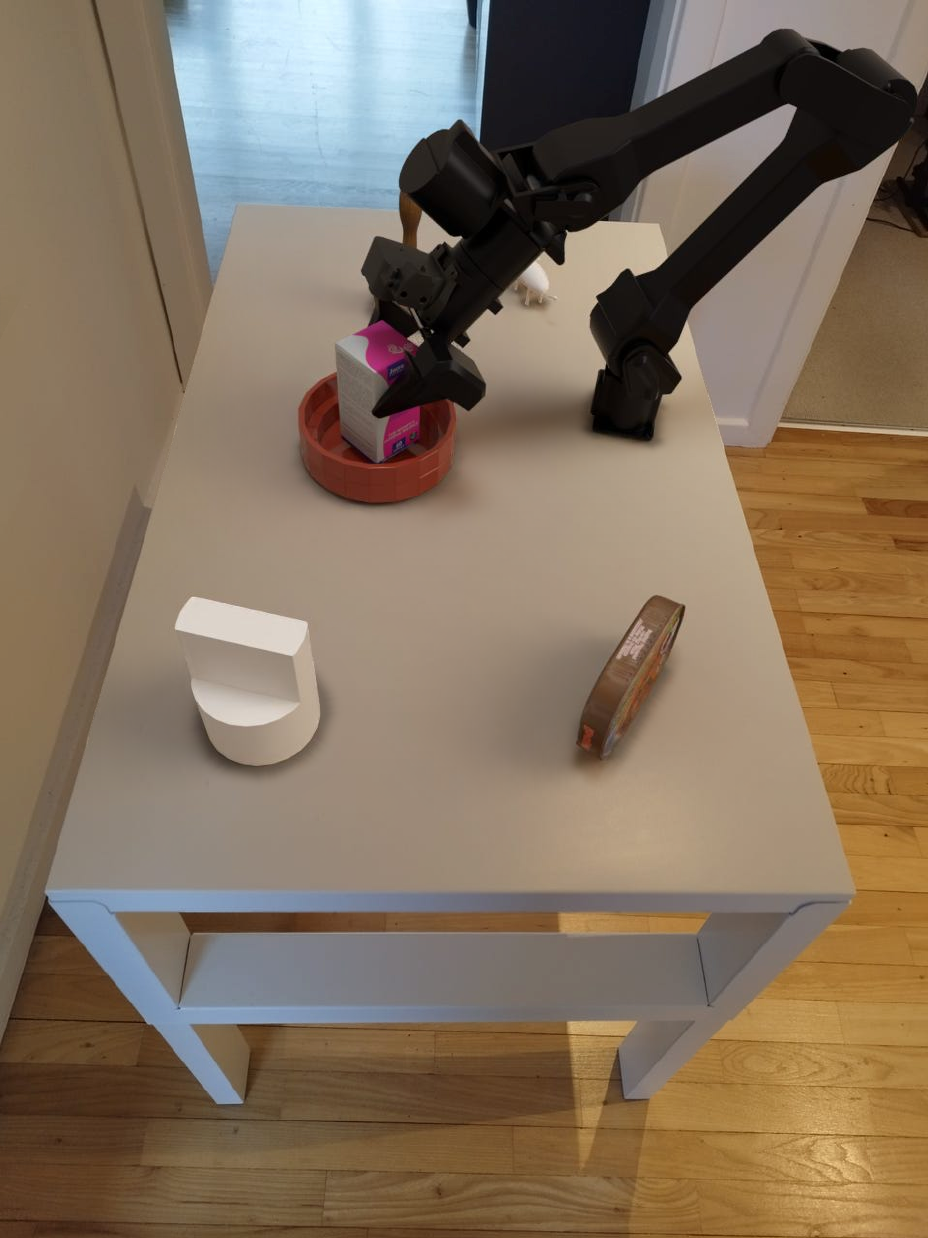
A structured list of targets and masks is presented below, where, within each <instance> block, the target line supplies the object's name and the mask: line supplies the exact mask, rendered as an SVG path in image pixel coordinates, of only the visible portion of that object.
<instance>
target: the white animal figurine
mask: <svg viewBox="0 0 928 1238" xmlns="http://www.w3.org/2000/svg"><path fill="white" fill-rule="evenodd" d="M539 261H541V256H539V257H538V258H537V259H536V260H535V261H534V262H533V263H532V264H531V265H530V266H529V267H528V268H527V269H526V270H525V271H524V272H523V273H522V274H521V275H520V276H519V277H518V279H517V280H516V281H515V282H514V287H513V290H514V291H518V287H519V280H520V282H521V283H522V284H523V285H524V287H526V289H527V290H526V297H525V301H524V304H525V306H529V305H530V304H529V303H530V297H531V292H532V293H535V294H537V295H538V299H537V302H538V304H542V302H543V296H546V297H548V298H551V299H552V300H553V301H557V300H558V297H557V296H556V295H555V296H554V295H550V294H548V293H547V292H548V291H549V289H550V281H549V277H548V275H547V273H546V272H545V270H544V268H543V267H542V266H541V265H540V264H539V263H538V262H539Z"/></svg>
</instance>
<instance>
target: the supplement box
mask: <svg viewBox="0 0 928 1238" xmlns="http://www.w3.org/2000/svg"><path fill="white" fill-rule="evenodd" d="M418 347H419V345H417V344H415V343H414V342H413V341H412V340H410V339H409V338H405V337H404V336H403V335H401V334H400V333H399V332H397V331H396V330H395V329H393V328H392V327H391V326H389V325H388V324H387V323H386V322H384V321H383V320H381V321H379V322H377V323H375V324H373V325H371V326H369V327H367V326H366V327H365V328H363V329H361V330H359V331H356V332H355V333H352V334H351V335H348V336H346V337H345V338H342V339H340V340H338V341H336V342H334V351H335V366H336V372H337V382H338V397H339V413H340V427H341V438H342V439H343V440H344V441H345V442H346V443H347V444H349V445H350V446H351V447H352V448H354V449H355V450H356V451H357V452H359V453H360V454H361V455H362V456H363V457H364V458H366V459H367V460H368V461H369V462H370V463H372V464H382V463H383V462H385V461H386V460H388V459H389V458H391V457H393V456H395V455H396V454H398V453H400V452H401V451H403V450H405V449H407V448H409V447H410V446H413V445H415V444H416V443H418V442H419V417H420V406H418V407H414V408H411V409H408V410H405V411H402V412H399V413H396V414H393V415H390V416H387V417H384V418H381V419H378V418H377V417H375V416H373V415H372V412H371V411H372V409H373V408H374V406H375V405H376V403H377V402H378V401H379V399H380V398H381V397H382V396H383V394H384V393H385V392H386V391H387V390H388V388H389V387H390V386H391V385H392V384H393V382H394V381H395V380H396V379H397V377H398V376H399V375H400V374H401V373H402V371H403V370H404V352H405V350H407V351H408V352H410V353H411V354H412V355H414V356H415V355H416V352H417V349H418Z"/></svg>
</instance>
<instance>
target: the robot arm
mask: <svg viewBox="0 0 928 1238" xmlns="http://www.w3.org/2000/svg"><path fill="white" fill-rule="evenodd" d="M918 96H919V95H918V91H917V89H916V86H915V85H914V83H912V82H911V81H910V80H908V79H907V77H905V76H904V75H903V74H902V73H900V71H898V70H897V69H896V68H894V66H893V65H891V64H890V63H888V62H887V61H886V60H885V59H884V58H883V57H882V56H880V55H879V54H878V53H877V52H876V51H874V50H873V49H872V48H867V47H858V48H853V49H851V48H847V49H845V50H841V49H838V48H837V47H834V46H832V45H831V44H828V43H826V42H824V41H821V40H817V39H813V38H810V37H809V38H808V37H805V36H803V35H801V34H800V33H799V32H798V31H797V30H795V29H794V28H778V29H775V30H772V31H771V32H770V33H768V34H767V35H766V36H764V37H763V38H762V39H761V41H760V42H759V43H758V44H756V45H754V46H752V47H750V48H748V49H746V50H744V51H743V52H741V53H739V54H736V55H735V56H733V57H732V58H729V59H727V60H726V61H724V62H721V63H720V64H718V65H716V66H715V67H713V68H711V69H709V70H707V71H705V72H702V73H701V74H699V75H697V76H695V77H694V78H691V79H689V80H687V81H686V82H684V83H683V84H680V85H679V86H676V87H675V88H673V89H671V90H669V91H668V92H666V93H663V94H662V95H660V96H658V97H656V98H654V99H652V100H650V101H648V102H646V103H645V104H642V105H641V106H639V107H638V108H635V109H632V110H631V111H629V112H625V113H623V114H620V115H617V116H610V117H608V116H607V117H591V118H590V117H589V118H585V119H582V120H579V121H576V122H573V123H570V124H567V125H564V126H561V127H558V128H555V129H552V130H549V131H548V132H547V133H545V134H544V135H542V136H541V137H540V138H539V139H537V140H536V141H532V142H527V143H522V144H518V145H517V144H516V145H513V146H508V147H504V148H503V147H502V148H497V149H495V150H494V149H493V150H491V151H488V150H487V149H486V147H484V146H483V144H482V143H481V142H480V141H479V140H478V139H477V138H476V136H475V134H474V132H473V130H472V128H470V126H469V125H467V123H465V121H464V120H463V119H461V118H460V119H457V120H456V121H455V122H454V123H453V124H452V125H451V126H450V127H449V128H442V129H437V130H436V131H434V132H432V133H431V134H429V135H428V136H427V137H422V138H421V139H420V140H419V141H418V142H417V143H416V144H415V146H414V147H413V148H412V149H411V151H410V153H409V154H408V155H407V157H406V159H405V161H404V163H403V164H402V167H401V170H400V172H399V177H398V188H399V190H400V191H402V192H403V193H404V194H405V195H406V196H407V197H408V198H409V199H411V200H412V201H413V202H414V203H415V204H416V205H417V206H418V207H419V208H420V209H421V210H422V212H423V213H425V215H427V216H428V217H429V218H430V219H431V220H432V221H433V222H434V223H435V224H437V226H438V227H440V229H442V230H443V231H444V232H445V233H446V234H447V235H448V236H449V237H453V238H459V237H461V238H460V240H458V241H457V243H455V245H454V246H453V247H452V246H451V245H450V244H449V243H448V242H446V241H443V242H442V243H438V244H437V245H436V246H435V247H434V248H433V249H432V250H431V251H430V252H429V253H428V252H425V251H423V250H421V249H418V247H417V248H415V247H412V246H409V245H406V244H403V242H400V241H397V240H393V239H391V238H387V237H384V236H380V235H376V236H374V237H373V240H372V242H371V245H370V247H369V249H368V252H367V254H366V257H365V259H364V262H363V264H362V265H361V266H362V267H361V268H360V273H361V275H362V276H364V278H365V280H366V282H367V284H368V287H367V288H368V291H369V292H370V294H371V295H372V296H373V301H374V302H375V308H374V309H373V311H372V313H371V316H370V319H369V322H368V323H367V326H366V328H367V327H369V326H371V325H373V324H375V323H377V322H379V321H381V320H383V321H384V322H386V323H387V324H388V325H389V326H391V327H392V328H393V329H395V330H396V331H397V332H399V333H400V334H401V335H403V336H404V337H405V338H407V339H409V338H410V337H412V336H413V335H415V334H416V333H418V332H419V333H420V335H421V338H422V339H423V341H422V342H421V344H419V345H418V349H417V352H416V355H415V356H414V355H412V354H411V353H410V352H408V351H407V350H405V352H404V370H403V371H402V373H401V374H400V375H399V376H398V377H397V379H396V380H395V381H394V382H393V384H392V385H391V386H390V387H389V388H388V390H387V391H386V392H385V393H384V394H383V396H382V397H381V398H380V399H379V401H378V402H377V403H376V405H375V406H374V408H373V409H372V411H371V412H372V415H373V416H375V417H377V418H378V419H381V418H384V417H387V416H390V415H393V414H396V413H399V412H402V411H405V410H408V409H411V408H414V407H418V406H421V405H424V404H428V403H433V402H437V401H441V400H446V399H449V400H450V401H451V402H453V403H454V404H457V405H458V406H459V407H461V408H462V409H464V410H465V411H467V412H469V413H470V411H472V410H473V409H474V408H475V407H476V406H477V405H478V404H479V403H480V402H481V401H482V400H483V399H484V398H486V394H487V393H486V391H487V383H486V381H485V379H484V377H483V376H482V374H481V371H480V370H479V368H478V366H477V364H476V362H475V360H474V359H473V358H471V357H470V356H469V355H467V354H466V353H464V352H463V351H462V350H461V349H459V348H458V347H456V346H455V345H454V344H453V343H455V344H457V346H459V347H461V348H462V349H464V348H466V346H467V345H468V344H469V343H470V342H471V338H470V336H469V334H468V332H467V331H468V330H469V329H470V328H471V327H472V326H473V325H474V324H475V323H476V322H477V321H478V320H479V319H480V318H481V317H482V316H483V314H484V313H486V312H487V311H489V312H490V313H492V314H493V316H497V315H498V314H499V313H500V312H501V310H503V309H504V305H503V304H502V302H501V300H500V299H499V298H500V297H501V296H502V295H503V294H504V293H505V292H506V291H507V290H508V289H509V288H510V287H511V286H512V285H514V284H515V281H516V280H517V279H518V277H519V276H520V275H521V274H522V273H523V272H524V271H525V270H526V269H527V268H528V267H529V266H530V265H531V264H532V263H533V262H534V261H535V260H536V259H537V258H539V257H541V255H542V254H543V253H545V254H546V255H547V256H548V257H549V258H550V259H551V260H552V261H553V262H554V263H555V264H556V265H557V266H563V265H564V264H565V261H566V239H567V237H568V233H569V234H570V233H578V232H582V231H584V230H588V229H589V228H591V227H592V226H594V225H595V224H597V223H598V222H600V221H601V220H603V219H604V218H605V217H607V216H608V215H610V214H611V213H613V212H614V211H616V210H617V209H618V208H620V207H621V206H622V205H623V204H625V203H626V201H627V200H628V199H629V198H630V196H632V193H634V191H635V189H636V188H637V187H638V185H640V183H641V182H642V181H644V180H645V179H646V178H648V177H649V176H651V175H652V174H653V173H655V172H657V171H658V170H661V169H662V168H665V167H667V166H669V165H671V164H673V163H674V162H676V161H678V160H680V159H682V158H684V157H686V156H689V155H690V154H692V153H693V152H694V153H695V151H696V152H697V151H698V150H700V149H702V148H704V147H706V146H708V145H709V144H712V143H713V142H715V141H718V140H719V139H721V138H723V137H726V136H728V135H729V134H731V133H733V132H735V131H737V130H739V129H740V128H742V127H744V126H746V125H749V124H750V123H753V122H754V121H756V120H758V119H760V118H762V117H764V116H767V115H768V114H770V113H772V112H774V111H776V110H778V109H780V108H781V107H784V106H786V105H790V106H792V107H795V108H796V109H795V111H794V114H793V116H792V118H791V121H790V124H789V126H788V128H787V130H786V133H785V135H784V138H783V139H782V141H781V142H780V143H779V144H778V145H777V146H776V148H774V149H773V151H771V152H770V154H769V155H768V156H766V157H765V159H764V160H762V161H761V163H760V164H758V165H757V167H756V168H755V169H754V170H753V171H751V172H750V174H749V175H748V176H747V177H746V178H744V179H743V181H742V182H741V183H740V184H739V185H738V186H737V187H736V188H735V189H734V190H733V191H732V192H731V193H729V195H728V196H727V197H726V198H725V199H724V200H723V201H722V202H721V203H720V204H719V205H718V206H717V207H716V208H715V209H714V210H713V211H712V212H711V214H709V215H708V216H707V217H706V218H705V219H704V221H702V222H701V223H700V224H699V225H698V226H697V227H696V228H695V229H694V230H693V231H692V232H691V233H690V234H689V236H687V237H686V239H685V240H683V242H682V243H680V245H678V247H676V249H675V250H674V251H673V252H672V253H670V254H669V256H668V257H667V258H666V259H665V260H664V261H663V262H662V263H661V264H659V266H657V267H656V268H654V269H653V270H649V271H646V272H644V273H643V272H642V273H640V274H637V275H635V274H634V273H633V271H632V270H631V268H625V269H624V270H622V271H621V272H620V273H618V276H617V277H616V278H615V279H614V281H613V282H612V283H611V284H610V286H609V287H607V288H606V289H605V290H603V291H602V292H600V293H598V294H597V295H596V296H595V298H596V301H597V302H596V304H595V305H594V306H593V308H592V309H591V311H590V314H589V330H590V333H591V335H592V338H593V340H594V341H595V344H596V345H597V347H598V349H599V352H600V353H601V355H602V357H603V359H604V362H605V366H604V368H600V369H599V370H597V375H596V380H595V386H594V388H593V389H594V390H593V394H592V399H591V405H590V411H589V414H590V415H591V416H593V418H592V424H591V430H592V431H593V432H594V433H595V432H596V433H599V434H606V435H611V436H616V437H617V436H618V437H623V438H629V439H632V440H633V439H634V440H639V441H643V442H644V441H645V442H652V441H653V439H654V436H655V428H656V427H655V426H656V420H657V416H658V412H659V409H660V406H661V402H662V400H663V396H666V395H672V393H673V392H674V391H675V390H676V389H677V387H678V385H679V384H680V382H681V381H682V379H683V376H682V374H681V373H680V370H679V369H678V367H677V366H676V364H675V362H674V360H673V359H672V357H671V355H670V354H669V353H670V352H671V351H672V350H673V349H674V348H675V347H676V345H677V344H678V343H679V341H680V338H681V336H682V333H683V331H684V328H685V325H686V323H687V320H688V318H689V316H690V313H691V311H692V309H693V308H694V307H695V306H696V305H697V304H698V303H699V302H700V301H701V300H702V299H703V298H704V297H705V296H707V294H708V293H709V292H710V291H711V290H712V289H714V288H715V286H717V284H719V283H720V282H721V281H722V280H723V279H724V278H726V276H727V275H728V274H730V272H731V271H733V270H734V269H735V267H736V266H737V265H739V264H740V263H741V262H742V261H743V260H744V259H745V258H746V257H747V256H748V255H749V254H750V253H751V252H752V251H754V249H755V248H757V246H758V245H759V244H761V242H762V241H763V240H765V239H766V238H767V237H768V236H769V235H770V234H771V233H772V232H773V231H774V230H775V229H776V228H778V226H780V225H781V223H783V221H784V220H786V219H787V218H788V217H789V216H790V215H791V214H792V213H794V211H795V210H796V209H797V208H798V207H799V206H800V205H801V204H802V203H803V202H804V201H805V200H807V199H808V198H809V197H810V196H811V195H812V194H813V193H814V192H815V191H816V190H817V189H818V188H819V187H821V186H822V185H823V184H826V183H828V182H832V181H835V180H837V179H840V178H842V177H846V176H849V175H852V174H853V173H857V172H859V171H862V170H863V169H865V168H866V167H867V166H868V165H870V164H871V163H872V162H873V161H875V160H876V159H877V158H879V157H881V155H883V154H884V153H886V152H887V151H888V150H890V149H891V148H892V147H894V146H895V145H896V144H897V143H898V142H899V141H900V140H901V139H902V138H903V137H904V136H905V135H906V134H907V132H908V131H909V130H910V128H911V127H912V126H913V124H914V122H915V119H914V117H915V113H916V111H917V107H918V100H919V99H918V98H919V97H918ZM530 188H531V189H530ZM518 280H519V279H518Z"/></svg>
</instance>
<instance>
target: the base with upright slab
mask: <svg viewBox="0 0 928 1238" xmlns="http://www.w3.org/2000/svg"><path fill="white" fill-rule="evenodd" d="M174 631H175V634H176V637H177V640H178V642H179V646H180V648H181V652H182V655H183V657H184V660H185V662H186V667H187V669H188V672H189V674H190V678H191V683H190V684H191V687H190V688H191V690H192V692H193V696H194V699H195V703H196V705H197V709H198V711H199V714H200V716H201V719H202V722H203V725H204V728H205V731H206V734H207V736H208V739H209V741H210V743H211V745H213V747H214V749H215V750H216V751H217V752H218V753H220V754H221V755H222V756H224V757H225V758H226V759H228V760H229V761H232V762H234V763H238V764H240V765H245V766H253V767H261V766H269V765H275V764H277V763H280V762H282V761H283V762H284V761H286V760H288V759H290V758H292V757H293V756H295V755H296V754H297V753H299V752H301V751H302V750H303V749H304V748H305V747H306V746H307V745H308V743H309V742H311V740H312V739H313V737H314V735H315V733H316V731H317V730H318V728H319V723H320V719H321V707H320V696H319V691H318V683H317V676H316V670H315V662H314V659H313V652H312V646H311V645H312V644H311V638H310V637H311V636H310V631H309V623H308V621H306V620H302V619H297V618H292V617H287V616H283V615H279V614H275V613H269V612H265V611H261V610H257V609H252V608H248V607H244V606H240V605H239V606H238V605H234V604H230V603H224V602H221V601H216V600H211V599H208V598H203V597H198V596H191V597H190V598H188V600H187V601H186V603H185V604H184V605H183V607H182V608H181V610H179V613H178V616H177V619H176V621H175V624H174Z"/></svg>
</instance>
